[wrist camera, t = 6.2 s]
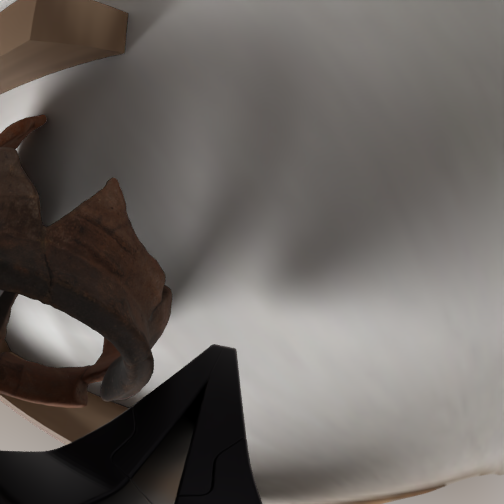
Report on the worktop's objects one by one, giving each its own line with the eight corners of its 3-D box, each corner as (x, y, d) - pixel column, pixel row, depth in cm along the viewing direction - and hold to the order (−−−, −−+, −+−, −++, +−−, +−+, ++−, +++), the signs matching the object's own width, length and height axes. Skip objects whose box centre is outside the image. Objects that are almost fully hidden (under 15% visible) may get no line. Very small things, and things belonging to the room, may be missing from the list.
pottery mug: (89, 45, 8) (-48, 102, 2) (208, 215, 14) (252, 379, 8) (-59, 215, 9) (-121, 344, 3) (50, 310, 16) (38, 436, 10)
